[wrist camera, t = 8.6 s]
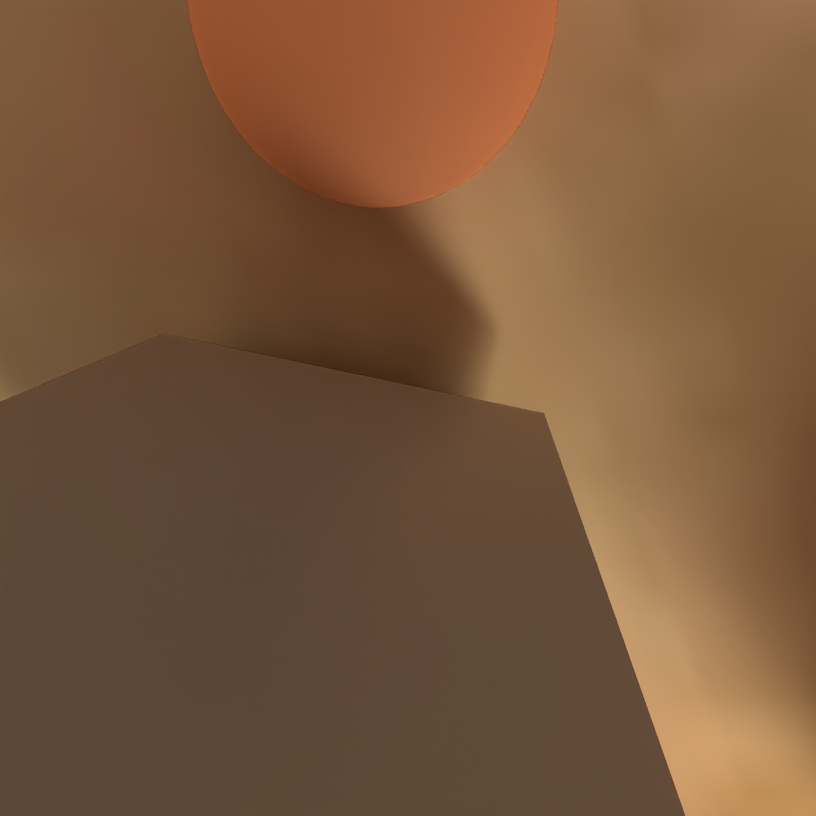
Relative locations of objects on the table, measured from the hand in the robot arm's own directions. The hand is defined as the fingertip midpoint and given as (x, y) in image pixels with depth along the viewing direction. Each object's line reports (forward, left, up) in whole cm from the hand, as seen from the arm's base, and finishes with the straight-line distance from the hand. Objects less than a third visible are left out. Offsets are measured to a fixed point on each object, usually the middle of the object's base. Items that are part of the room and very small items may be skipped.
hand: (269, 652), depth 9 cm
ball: (0, -9, -3) cm, 9 cm away
